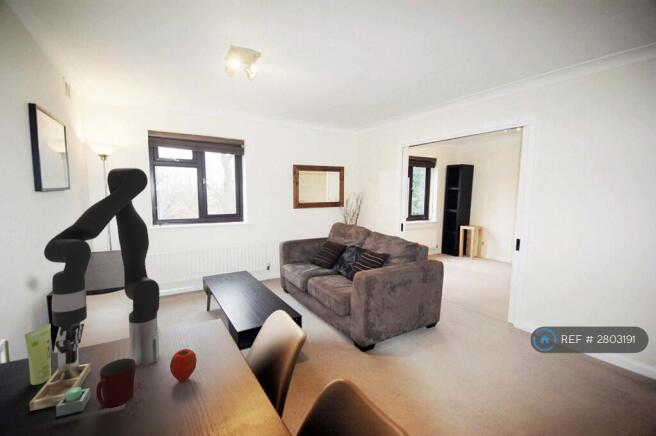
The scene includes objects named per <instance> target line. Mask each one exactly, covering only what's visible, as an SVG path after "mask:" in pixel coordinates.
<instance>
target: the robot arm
mask: <svg viewBox="0 0 656 436" xmlns="http://www.w3.org/2000/svg"><path fill="white" fill-rule="evenodd" d="M106 179H107V180H106V181H107V187H108V191H109V194H108V195H107V196H105V197H104V198H102V199H101V200H100V199H99V201H97V202H95V203H94V204H92V205H90V206H89V207H88V208H87V209H86V210H85V211H84V212H83V213H82V214H81V215H80V216H79V217H78V218H77V220H75V222H74V223H73V224H71V225H69V226H68V227H67V228H65V229H64V230H63V231H60V232H59V233H58V234H56V235H54V237H52V238H51V239H50V240H49V241H48V242H47V244H46V246H45V247H44V250H43V255H44V257H45V259H46V260H47V261H48V262H52V263H57V264H64V268H63V270H61V271H58V272H56V273H54V274H53V276H52V281H51V282H52V284H51V285H52V299H51V315H52V316H51V317H52V318H51V319H52V325H53V326H54V327H59V328H60V329H59V332H58V336H59V337H60V338H61V339H60V341H57V340H56V341H55V343H54V344H55V347H56V349H57V348H58V350H59V351H60V353H61V354H62V353H65V357H66V364H72V363H75V362H76V360H77V349H76V348H78V349H79V345H80V344H81V341H82V337H83V332H84V327H85V324H84V323H82V322H84V321H85V320H86V319H87V318H88V309H87V305H88V304H87V301H88V300H87V292H86V278H85V277H86V273H87V270H88V267H89V264H90V263H89V262H90V260H91V256H92V249H91V247H90V244H89V243H88V242H87V241H89V240H94V239H97V237H99V235H100V234H101V233H102V232H103V231H104V229H105V228H106V227H107V226H108V225H109V224H110V222H111V221H112V220H113V219H114V218H115V221H116V225H117V228H116V229H117V234H118V243H119V247H120V248H119V249H120V252H121V253H120V255H121V259H122V265H123V279H124V282H123V283H124V288H123V289H124V293H125V296H126V297H127V298H128V299H129V300H132V311H131V312H130V313H129V314H128V332H129V337H128V338H129V359H133V360H134V361H135V366H138V368H143V367H147V366H149V365H151V364H154V363H157V362H158V360H159V359H158V358H159V357H160V342H159V339H160V338H159V337H160V335H159V332H158V311H159V309H160V286H159V284H158V282H157V281H156V280H154V279H152V278H149V276H148V273H147V269H146V259H147V254H148V251H149V247H150V240H149V239H150V238H149V230H148V227H147V225H146V222H145V221H144V219H143V217H141V215H140V214H139V213H138V211H137V210H136V208H135V207H134V204H133V200H134V199H135V198H136V197H137V196H139V194H141V193H142V192H143V191H144V190H145V189H146V188H147V186H148V182H149V181H148V176H147V174H146V173H145V171H144V170H142V169H140V168H138V167H120V168H119V167H117V168H113V169H110V171H109V172H108V174H107V178H106Z"/></svg>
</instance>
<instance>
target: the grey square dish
mask: <svg viewBox="0 0 656 436" xmlns="http://www.w3.org/2000/svg"><path fill="white" fill-rule="evenodd" d="M90 399H91V387H89V388H85V389H82V397H81V399H80V400H76V401H71V402H67V403H66V397H65V394H64V396H63V397H62V399H61V400H60V402H59V403H58V404H57V405H55V411H56V416H55V417H60V418H59V420H61V419H63V417H61V416H65V415H69V414H73V413H74V415H72V417H74V416H76V414H75V413H78V412H83V411H84V410H85V407H86V406H87V404H88V402H89V401H90ZM82 414H83V413H81V415H82ZM78 415H80V413H79V414H77V416H78ZM69 417H71V416H70V415H69V416H68V418H69ZM66 418H67V416H66V417H64V419H66Z"/></svg>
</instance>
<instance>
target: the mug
mask: <svg viewBox="0 0 656 436" xmlns="http://www.w3.org/2000/svg"><path fill="white" fill-rule="evenodd" d="M135 373H136V365H135V361H134V360H133V359H130V357H129V358H121V359H116V360H114V361H110V362H109V363H107V364H105V365H104V366H102V368H101V369H100V370H99V375H100V376H99V378H100V381H98V383H97V385H96V388H95V389H96V392H95V393H96V399H97V402H98V403H99V404H100V405H101V406H102V407H106V408H108V409H113V408H118V407H121V406H124V405H126V404H127V403H128V402H130V401H131V400H132V398H133V396H134V391H135V390H134V388H135V375H136V374H135Z"/></svg>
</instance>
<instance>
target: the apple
mask: <svg viewBox="0 0 656 436" xmlns="http://www.w3.org/2000/svg"><path fill="white" fill-rule="evenodd" d="M196 366H197V356H196V353H195V351H194V350H191V349H190V348H189V349H188V348H183V349H180V350H178V351H176V352H175V353H174V354H173V356H172V357H171V360H170V365H169V369H170V373H171V375H172V376H173V377H174V379H176V381H178V382H180V383H185V382H186V381H187V380H189V379H190V377H191V376H192V374H193V373H194V372H195V370H196Z"/></svg>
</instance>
